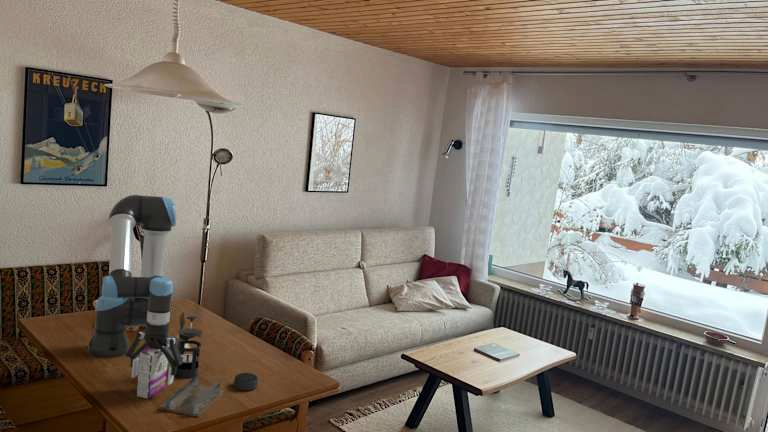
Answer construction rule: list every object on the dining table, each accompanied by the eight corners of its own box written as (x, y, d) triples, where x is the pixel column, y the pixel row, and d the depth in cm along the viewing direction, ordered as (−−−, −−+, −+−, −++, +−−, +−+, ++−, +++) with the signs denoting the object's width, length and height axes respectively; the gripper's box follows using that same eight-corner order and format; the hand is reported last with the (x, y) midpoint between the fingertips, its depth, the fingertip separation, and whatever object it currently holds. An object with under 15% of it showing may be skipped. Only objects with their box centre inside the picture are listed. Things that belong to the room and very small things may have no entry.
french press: (204, 376, 227) (210, 319, 224) (182, 381, 220) (188, 322, 217) (188, 365, 234) (193, 310, 232) (166, 370, 227) (172, 313, 225)
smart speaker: (230, 390, 219) (232, 379, 218) (236, 380, 228) (237, 370, 227) (254, 393, 219) (255, 383, 218) (259, 383, 228) (260, 373, 227)
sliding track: (159, 409, 196) (160, 399, 196) (188, 385, 217) (189, 376, 217) (198, 417, 195) (199, 407, 194) (224, 392, 215) (225, 383, 215)
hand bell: (165, 348, 249) (169, 312, 247) (179, 343, 257) (182, 308, 255) (180, 353, 246) (184, 316, 244) (194, 347, 254) (198, 312, 252)
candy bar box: (153, 384, 214) (158, 341, 212) (166, 387, 213) (170, 344, 211) (135, 396, 203) (139, 351, 201) (147, 399, 202) (152, 354, 200)
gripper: (118, 318, 203) (113, 377, 205) (186, 331, 200) (180, 390, 202) (130, 313, 210) (125, 369, 212) (196, 325, 207) (190, 382, 209)
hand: (152, 379), depth 207 cm, fingers open, 13 cm apart
